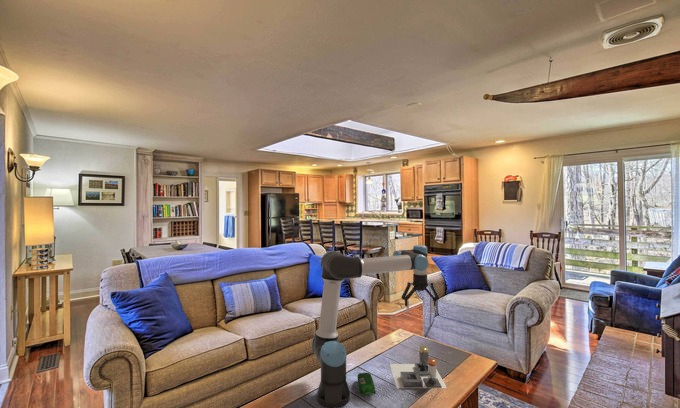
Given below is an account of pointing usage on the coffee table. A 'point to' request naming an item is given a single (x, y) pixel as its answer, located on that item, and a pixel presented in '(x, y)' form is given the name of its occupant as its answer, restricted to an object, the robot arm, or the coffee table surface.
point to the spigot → (423, 358)
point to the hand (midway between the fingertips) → (420, 312)
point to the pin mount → (411, 383)
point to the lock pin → (432, 371)
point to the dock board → (410, 368)
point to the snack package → (366, 383)
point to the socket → (421, 372)
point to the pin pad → (431, 384)
